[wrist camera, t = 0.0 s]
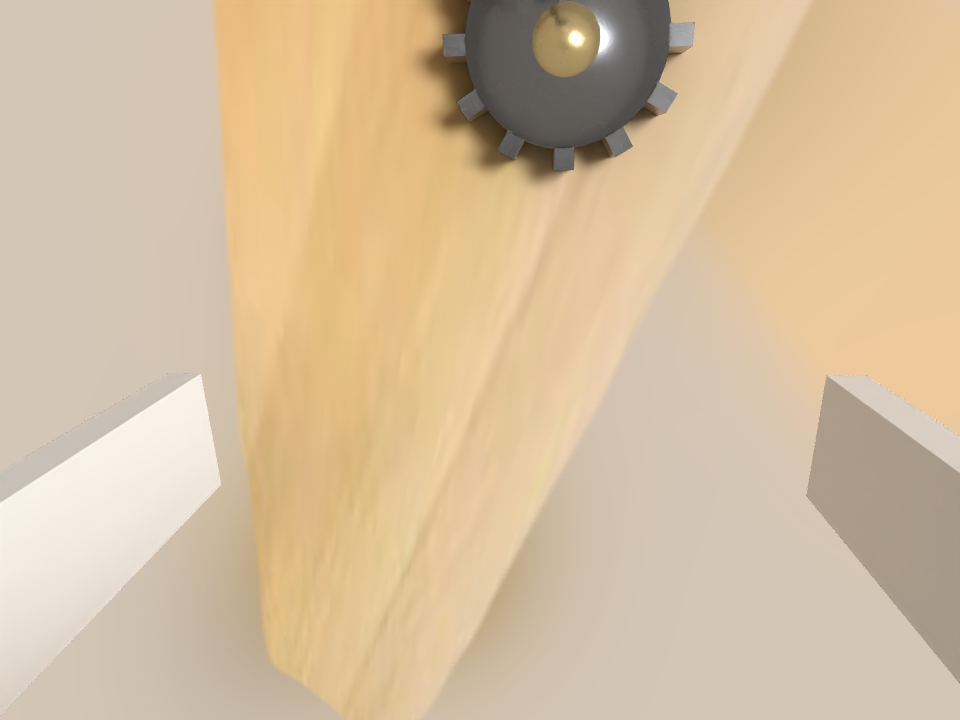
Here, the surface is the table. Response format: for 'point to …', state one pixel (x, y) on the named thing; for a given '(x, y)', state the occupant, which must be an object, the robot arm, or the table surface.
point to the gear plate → (566, 69)
